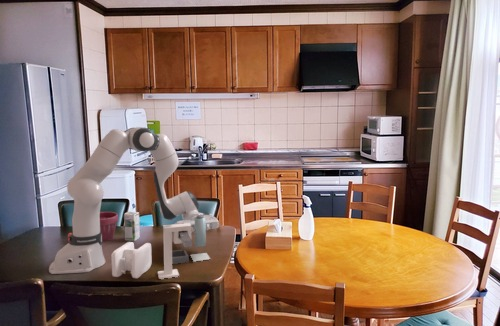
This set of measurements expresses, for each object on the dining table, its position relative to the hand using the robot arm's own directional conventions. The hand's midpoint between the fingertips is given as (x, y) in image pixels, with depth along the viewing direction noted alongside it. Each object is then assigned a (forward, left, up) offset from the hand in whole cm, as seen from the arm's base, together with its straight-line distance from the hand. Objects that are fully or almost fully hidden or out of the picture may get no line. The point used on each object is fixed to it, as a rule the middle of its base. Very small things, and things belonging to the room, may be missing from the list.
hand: (200, 229), depth 171 cm
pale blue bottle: (0, +1, -7) cm, 8 cm away
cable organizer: (-31, -6, -14) cm, 34 cm away
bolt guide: (-14, -13, -14) cm, 24 cm away
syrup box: (-29, +38, -14) cm, 49 cm away
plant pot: (-43, +44, -14) cm, 63 cm away
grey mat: (0, +1, -14) cm, 14 cm away
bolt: (-11, -16, +2) cm, 19 cm away
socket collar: (-11, +2, -14) cm, 18 cm away
